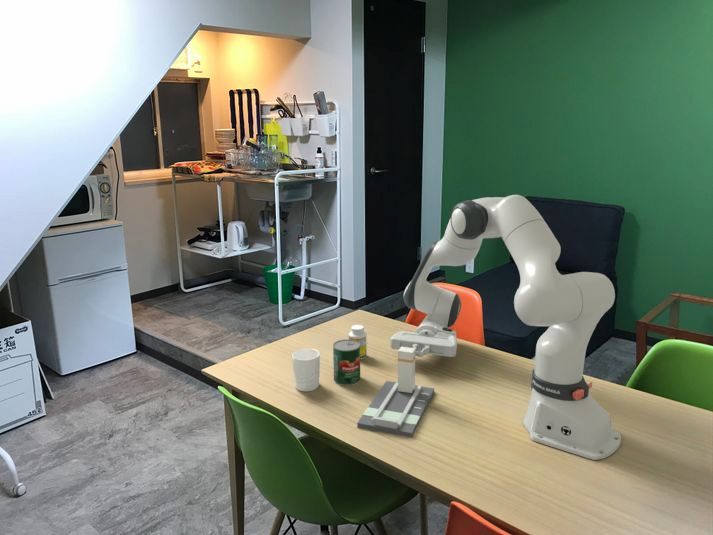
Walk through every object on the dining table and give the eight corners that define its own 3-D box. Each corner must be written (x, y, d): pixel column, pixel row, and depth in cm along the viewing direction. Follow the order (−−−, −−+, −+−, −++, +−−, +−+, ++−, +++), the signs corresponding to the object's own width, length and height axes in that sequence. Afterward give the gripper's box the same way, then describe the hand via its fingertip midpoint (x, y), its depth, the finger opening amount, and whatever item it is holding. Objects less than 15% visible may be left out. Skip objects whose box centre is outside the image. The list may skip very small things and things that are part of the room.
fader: (414, 388, 160) (415, 348, 157) (411, 393, 157) (412, 352, 154) (400, 386, 161) (401, 346, 158) (397, 391, 158) (397, 350, 155)
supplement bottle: (346, 355, 185) (345, 325, 182) (361, 352, 188) (361, 322, 185) (354, 362, 180) (353, 331, 178) (369, 358, 183) (369, 328, 180)
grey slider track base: (434, 392, 161) (434, 382, 160) (411, 437, 139) (411, 426, 138) (386, 384, 166) (386, 375, 165) (357, 427, 144) (357, 416, 143)
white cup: (319, 392, 161) (318, 360, 159) (291, 392, 162) (290, 360, 159) (321, 379, 169) (320, 348, 166) (295, 379, 169) (293, 348, 167)
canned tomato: (348, 388, 164) (347, 352, 161) (328, 380, 169) (327, 345, 166) (366, 378, 170) (365, 343, 167) (346, 370, 175) (345, 337, 172)
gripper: (397, 323, 184) (383, 339, 171) (461, 331, 177) (452, 348, 164) (396, 341, 185) (383, 359, 173) (460, 350, 178) (451, 368, 166)
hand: (417, 354), depth 169 cm, fingers closed
